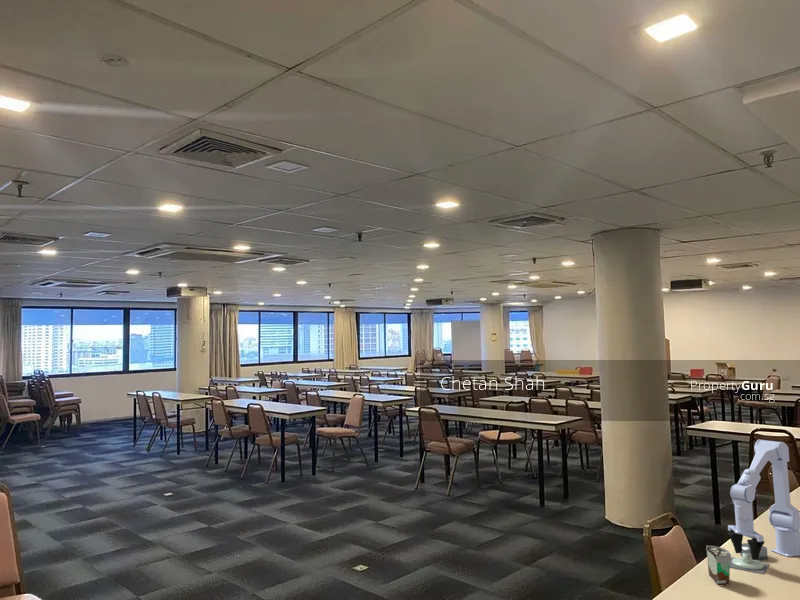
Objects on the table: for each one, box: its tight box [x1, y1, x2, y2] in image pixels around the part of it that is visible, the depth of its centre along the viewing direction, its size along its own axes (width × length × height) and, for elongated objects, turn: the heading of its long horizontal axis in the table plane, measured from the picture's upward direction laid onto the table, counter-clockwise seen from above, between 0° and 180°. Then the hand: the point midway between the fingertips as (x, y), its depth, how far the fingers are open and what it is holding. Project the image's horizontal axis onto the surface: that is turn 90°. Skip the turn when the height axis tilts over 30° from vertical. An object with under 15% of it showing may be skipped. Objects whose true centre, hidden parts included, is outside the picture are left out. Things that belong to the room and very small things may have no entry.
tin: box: [739, 542, 769, 561], centre depth 227 cm, size 9×9×4 cm
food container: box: [705, 545, 732, 586], centre depth 203 cm, size 12×6×10 cm, turn 168°
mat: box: [730, 556, 770, 575], centre depth 217 cm, size 12×12×1 cm
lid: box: [732, 553, 764, 570], centre depth 217 cm, size 10×10×4 cm
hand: (746, 556), depth 217 cm, fingers open, 7 cm apart
